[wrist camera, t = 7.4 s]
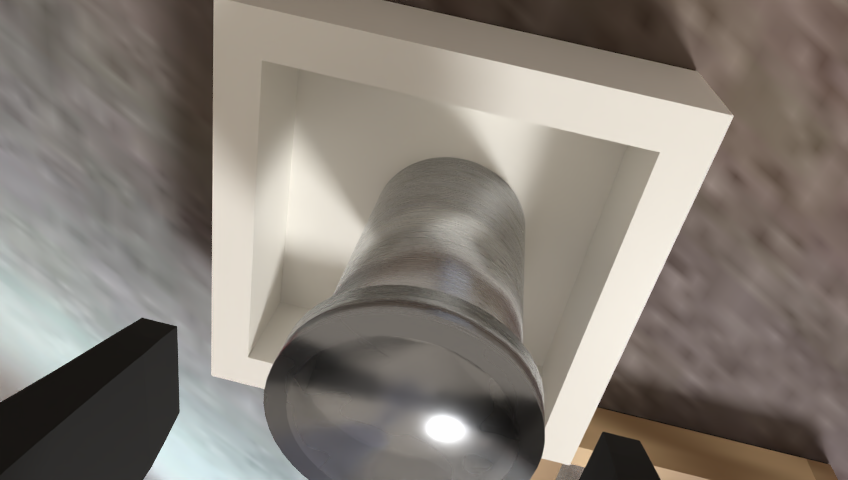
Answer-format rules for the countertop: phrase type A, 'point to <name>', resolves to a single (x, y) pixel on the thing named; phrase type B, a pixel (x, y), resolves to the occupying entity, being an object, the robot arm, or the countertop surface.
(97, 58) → the countertop surface
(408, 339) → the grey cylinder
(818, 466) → the wooden square frame
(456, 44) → the white square tray
